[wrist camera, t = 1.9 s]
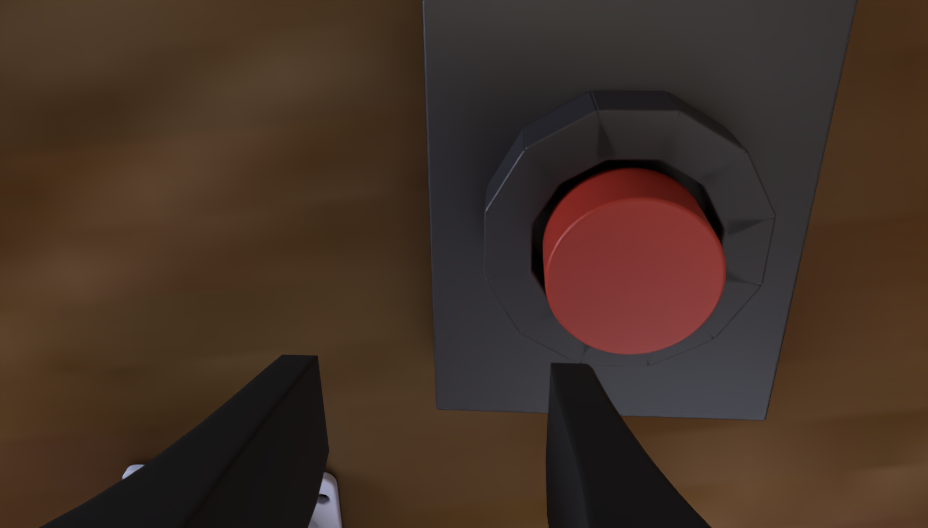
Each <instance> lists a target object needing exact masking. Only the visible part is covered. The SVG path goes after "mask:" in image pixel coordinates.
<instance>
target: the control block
mask: <svg viewBox="0 0 928 528" xmlns="http://www.w3.org/2000/svg"><path fill="white" fill-rule="evenodd" d="M856 5H857V0H422V9H423V38H424V67H425V96H426V125H427V154H428V183H429V212H430V241H431V271H432V300H433V329H434V358H435V387H436V407H437V409H439V410H467V411H497V412H527V413H548V405H549V385H550V366H551V363H584V364H589V365H590V366H591V367H592V368H593V369H594V371H595V373H596V375H597V377H598V379H599V381H600V383H601V385H602V386H603V388H604V390H605V392H606V393H607V395H608V397H609V398H610V400H611V402H612V403H613V405H614V407H615V408H616V410H617V411H618V413H619V414H620V416H646V417H675V418H705V419H735V420H765V419H766V416H767V411H768V406H769V402H770V397H771V393H772V388H773V384H774V379H775V375H776V370H777V365H778V361H779V356H780V352H781V347H782V343H783V338H784V333H785V329H786V324H787V320H788V315H789V311H790V306H791V302H792V297H793V292H794V288H795V283H796V279H797V274H798V270H799V265H800V260H801V256H802V251H803V247H804V242H805V238H806V233H807V229H808V224H809V219H810V215H811V210H812V206H813V201H814V197H815V192H816V187H817V183H818V178H819V174H820V169H821V165H822V160H823V155H824V151H825V146H826V142H827V137H828V133H829V128H830V124H831V119H832V114H833V110H834V105H835V101H836V96H837V92H838V87H839V82H840V78H841V73H842V69H843V64H844V60H845V55H846V51H847V46H848V41H849V37H850V32H851V28H852V23H853V19H854V14H855V9H856ZM627 167H634V168H644V169H649V170H654V171H657V172H660V173H663V174H665V175H667V176H669V177H671V178H673V179H674V180H676V181H677V182H679V183H680V184H682V185H683V186H684V187H685V188H686V189H687V190H688V191H689V192H690V193H691V194H692V196H693V197H694V198H695V199H696V201H697V203H698V204H699V206H700V208H701V210H702V211H703V213H704V215H705V216H706V218H707V220H708V222H709V223H710V225H711V227H712V228H713V230H714V232H715V234H716V235H717V237H718V239H719V240H720V243H721V246H722V248H723V251H724V256H725V260H726V278H725V284H724V288H723V292H722V295H721V297H720V300H719V302H718V304H717V306H716V307H715V309H714V311H713V313H712V314H711V315H710V317H709V318H708V319H707V320H706V322H705V323H704V324H703V325H702V326H701V327H700V328H699V329H697V330H696V331H695V332H694V333H693V334H691V335H690V336H688V337H687V338H685V339H684V340H682V341H681V342H679V343H676V344H674V345H672V346H670V347H667V348H665V349H662V350H659V351H655V352H651V353H644V354H632V355H625V354H615V353H610V352H605V351H602V350H599V349H595V348H593V347H591V346H589V345H586V344H585V343H583V342H581V341H580V340H578V339H576V338H575V337H574V336H573V335H571V334H570V333H569V332H568V331H567V330H566V329H565V328H564V327H563V326H562V325H561V324H560V322H559V321H558V320H557V318H556V317H555V315H554V313H553V311H552V310H551V308H550V305H549V302H548V299H547V295H546V290H545V278H544V263H543V244H542V243H543V234H544V230H545V226H546V223H547V220H548V218H549V216H550V214H551V212H552V210H553V208H554V207H555V205H556V204H557V203H558V201H559V200H560V199H561V198H562V197H563V196H564V195H565V194H566V193H567V192H568V191H569V190H570V189H571V188H572V187H574V186H575V185H576V184H578V183H579V182H581V181H582V180H584V179H586V178H588V177H590V176H592V175H594V174H597V173H600V172H603V171H606V170H610V169H616V168H627Z"/></svg>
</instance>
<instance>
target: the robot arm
mask: <svg viewBox="0 0 928 528" xmlns="http://www.w3.org/2000/svg"><path fill="white" fill-rule="evenodd" d="M328 453H329V446H328V438H327V430H326V421H325V413H324V405H323V396H322V388H321V380H320V371H319V363H318V356H310V355H281V356H280V357H279V358H278V359H276V360H275V361H274V362H273V363H272V364H270V365H269V366H268V367H267V368H266V369H264V370H263V371H262V372H261V373H260V374H259V375H257V376H256V377H255V378H254V379H253V380H252V381H251V382H249V383H248V384H247V385H246V386H245V387H244V388H242V389H241V390H240V391H239V392H238V393H237V394H235V395H234V396H233V397H232V398H231V399H229V400H228V401H227V402H226V403H225V404H223V405H222V406H221V407H220V408H219V409H217V410H216V411H215V412H214V413H213V414H211V415H210V416H209V417H208V418H207V419H205V420H204V421H203V422H202V423H200V424H199V425H198V426H196V427H195V428H194V429H192V430H191V431H190V432H188V433H187V434H186V435H184V436H183V437H182V438H180V439H179V440H178V441H176V442H175V443H174V444H172V445H171V446H170V447H168V448H167V449H166V450H164V451H163V452H162V453H160V454H159V455H158V456H156V457H155V458H154V459H152V460H151V461H149V462H148V463H147V464H145V465H131V466H130V467H128V469H127V470H126V472H125V473H124V475H123V480H121V481H119V482H118V483H116V484H115V485H113V486H111V487H110V488H108V489H107V490H105V491H103V492H102V493H100V494H99V495H97V496H95V497H94V498H92V499H90V500H89V501H87V502H85V503H84V504H82V505H80V506H78V507H76V508H74V509H73V510H71V511H69V512H67V513H65V514H63V515H62V516H60V517H58V518H56V519H54V520H52V521H50V522H49V523H47V524H45V525H43V526H41V527H39V528H342V521H341V513H340V504H339V496H338V487H337V482H336V479H335V478H334V477H333V476H332V475H331V474H329V473H325V472H324V471H325V466H326V462H327V457H328ZM546 492H547V517H548V525H549V528H711V527H710V526H709V525H708V524H707V523H706V521H705V520H704V519H703V518H702V517H701V516H700V515H699V514H698V513H697V512H696V511H695V510H694V509H693V508H692V507H691V506H690V505H689V504H688V503H687V501H686V500H685V499H684V498H683V497H682V496H681V495H680V494H679V492H678V491H677V490H676V489H675V488H674V487H673V485H672V484H671V483H670V482H669V481H668V479H667V478H666V477H665V476H664V474H663V473H662V472H661V471H660V470H659V468H658V467H657V466H656V465H655V463H654V462H653V461H652V459H651V458H650V457H649V456H648V454H647V453H646V452H645V450H644V449H643V448H642V446H641V445H640V443H639V442H638V441H637V439H636V438H635V436H634V435H633V433H632V432H631V431H630V429H629V428H628V426H627V425H626V424H625V422H624V421H623V419H622V418H621V416H620V414H619V413H618V411H617V410H616V408H615V407H614V405H613V403H612V402H611V400H610V398H609V397H608V395H607V393H606V392H605V390H604V388H603V386H602V385H601V383H600V381H599V379H598V377H597V375H596V373H595V371H594V369H593V368H592V367H591V366H590V365H589V364H584V363H551V366H550V385H549V405H548V424H547V444H546ZM320 494H324V495H327V496H328V497H324V496H321V495H320Z"/></svg>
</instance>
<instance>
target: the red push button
mask: <svg viewBox="0 0 928 528" xmlns="http://www.w3.org/2000/svg"><path fill="white" fill-rule="evenodd" d="M542 244H543V263H544V278H545V290H546V295H547V299H548V302H549V305H550V308H551V310H552V311H553V313H554V315H555V317H556V318H557V320H558V321H559V322H560V324H561V325H562V326H563V327H564V328H565V329H566V330H567V331H568V332H569V333H570V334H571V335H573V336H574V337H575V338H576V339H578V340H580V341H581V342H583V343H585V344H586V345H589V346H591V347H593V348H595V349H599V350H602V351H605V352H610V353H615V354H625V355H632V354H644V353H651V352H655V351H659V350H662V349H665V348H667V347H670V346H672V345H674V344H676V343H679V342H681V341H682V340H684V339H685V338H687V337H688V336H690V335H691V334H693V333H694V332H695V331H696V330H697V329H699V328H700V327H701V326H702V325H703V324H704V323H705V322H706V320H707V319H708V318H709V317H710V315H711V314H712V313H713V311H714V309H715V307H716V306H717V304H718V302H719V300H720V297H721V295H722V292H723V288H724V284H725V278H726V260H725V256H724V251H723V248H722V246H721V243H720V240H719V239H718V237H717V235H716V234H715V232H714V230H713V228H712V227H711V225H710V223H709V222H708V220H707V218H706V216H705V215H704V213H703V211H702V210H701V208H700V206H699V204H698V203H697V201H696V199H695V198H694V197H693V196H692V194H691V193H690V192H689V191H688V190H687V189H686V188H685V187H684V186H683V185H682V184H680V183H679V182H677V181H676V180H674V179H673V178H671V177H669V176H667V175H665V174H663V173H660V172H657V171H654V170H649V169H644V168H634V167H627V168H616V169H610V170H606V171H603V172H600V173H597V174H594V175H592V176H590V177H588V178H586V179H584V180H582V181H581V182H579V183H578V184H576V185H575V186H574V187H572V188H571V189H570V190H569V191H568V192H567V193H566V194H565V195H564V196H563V197H562V198H561V199H560V200H559V201H558V203H557V204H556V205H555V207H554V208H553V210H552V212H551V214H550V216H549V218H548V220H547V223H546V226H545V230H544V234H543V243H542Z"/></svg>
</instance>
